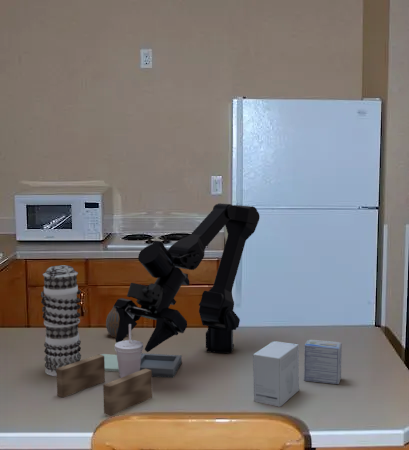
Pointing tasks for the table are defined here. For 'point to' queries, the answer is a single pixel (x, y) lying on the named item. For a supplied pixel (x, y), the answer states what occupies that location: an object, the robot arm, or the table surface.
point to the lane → (113, 391)
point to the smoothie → (128, 355)
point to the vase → (112, 322)
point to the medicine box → (322, 361)
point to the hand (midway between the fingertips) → (131, 346)
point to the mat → (110, 362)
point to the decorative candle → (61, 317)
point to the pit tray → (161, 364)
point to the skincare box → (276, 373)
